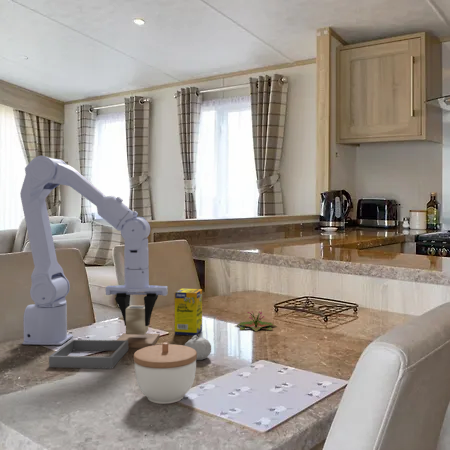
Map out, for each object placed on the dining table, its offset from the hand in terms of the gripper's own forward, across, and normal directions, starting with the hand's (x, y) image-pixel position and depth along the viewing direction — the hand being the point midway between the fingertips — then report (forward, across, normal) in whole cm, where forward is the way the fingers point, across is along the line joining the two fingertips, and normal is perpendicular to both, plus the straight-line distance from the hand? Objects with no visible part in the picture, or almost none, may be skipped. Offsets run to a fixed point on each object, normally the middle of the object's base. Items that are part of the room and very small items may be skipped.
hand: (137, 324), depth 123 cm
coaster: (+4, 0, 0) cm, 4 cm away
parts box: (+2, 0, 0) cm, 2 cm away
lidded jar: (+4, +13, -34) cm, 37 cm away
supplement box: (+4, +11, +10) cm, 16 cm away
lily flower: (+5, +28, +18) cm, 34 cm away
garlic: (+4, +16, -12) cm, 20 cm away
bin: (+4, -7, -13) cm, 15 cm away
